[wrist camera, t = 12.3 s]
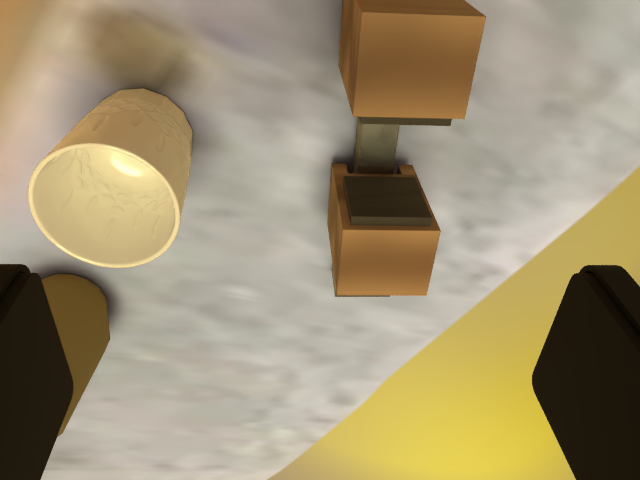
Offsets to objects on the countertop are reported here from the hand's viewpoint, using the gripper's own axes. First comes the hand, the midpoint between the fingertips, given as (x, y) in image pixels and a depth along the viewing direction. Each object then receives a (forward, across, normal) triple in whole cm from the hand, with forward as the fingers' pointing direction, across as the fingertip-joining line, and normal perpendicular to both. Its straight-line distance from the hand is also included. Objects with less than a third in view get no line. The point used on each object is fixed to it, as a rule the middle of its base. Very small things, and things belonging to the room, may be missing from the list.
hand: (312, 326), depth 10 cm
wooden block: (+27, -6, +1) cm, 28 cm away
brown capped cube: (+27, -6, +13) cm, 31 cm away
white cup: (+28, +10, +9) cm, 32 cm away
